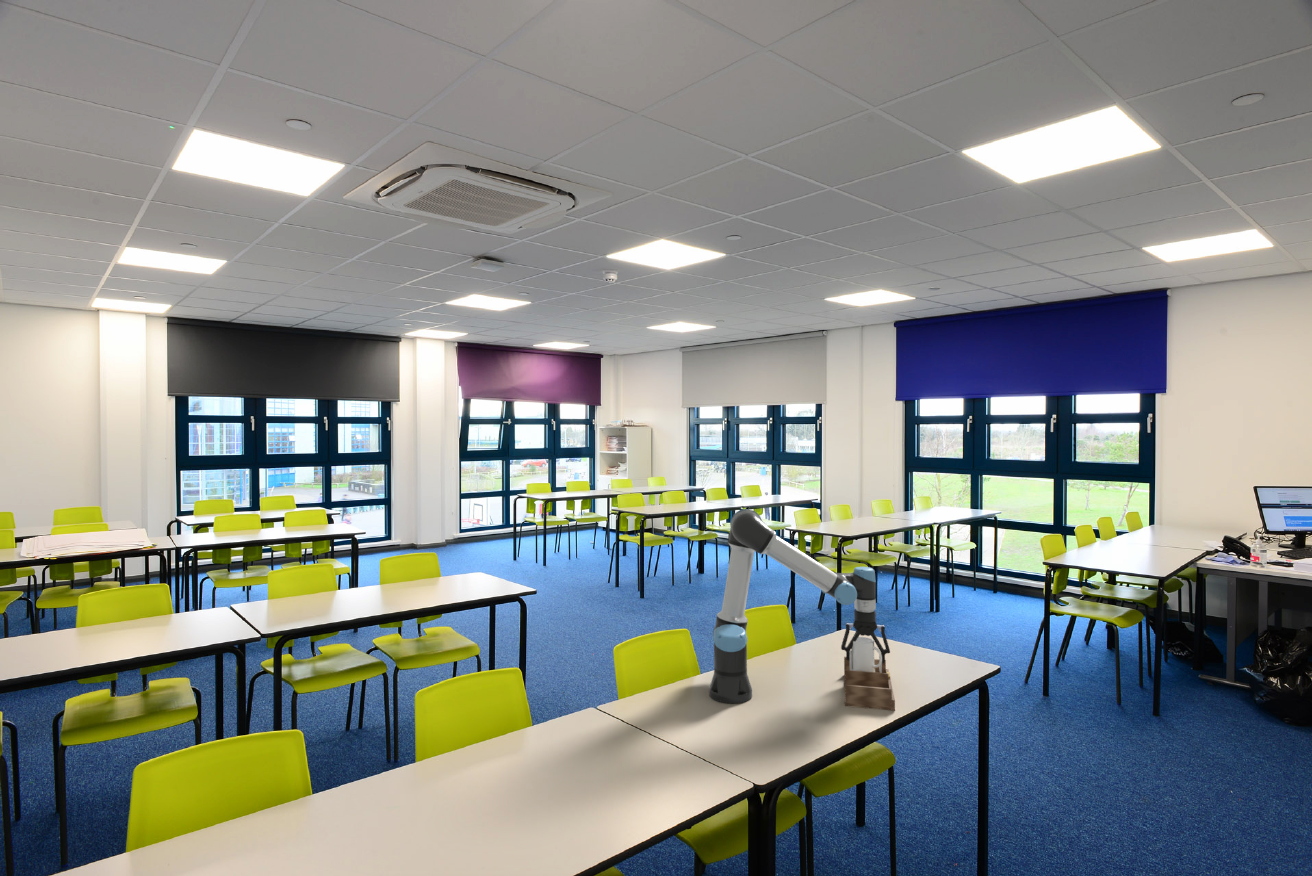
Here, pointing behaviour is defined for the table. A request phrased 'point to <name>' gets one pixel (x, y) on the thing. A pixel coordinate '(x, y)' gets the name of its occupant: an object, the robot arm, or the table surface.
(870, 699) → the rack
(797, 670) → the table surface
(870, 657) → the mug
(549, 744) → the table surface
